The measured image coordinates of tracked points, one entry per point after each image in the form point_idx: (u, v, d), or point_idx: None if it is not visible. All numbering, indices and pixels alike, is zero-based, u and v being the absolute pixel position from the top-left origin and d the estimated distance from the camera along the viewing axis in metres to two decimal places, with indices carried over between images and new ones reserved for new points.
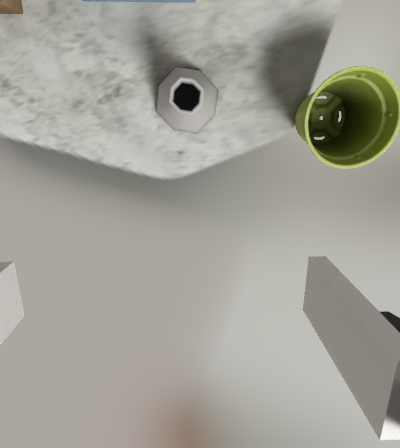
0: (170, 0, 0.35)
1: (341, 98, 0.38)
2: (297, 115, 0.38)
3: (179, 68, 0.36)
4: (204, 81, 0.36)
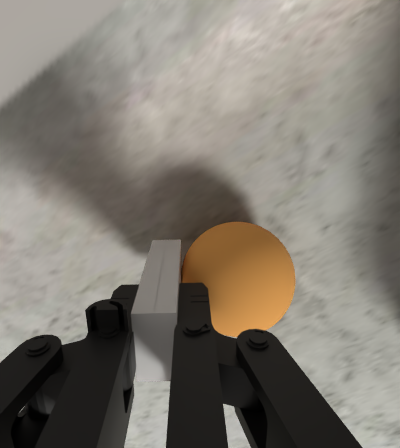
0: None
1: None
2: None
3: None
4: None
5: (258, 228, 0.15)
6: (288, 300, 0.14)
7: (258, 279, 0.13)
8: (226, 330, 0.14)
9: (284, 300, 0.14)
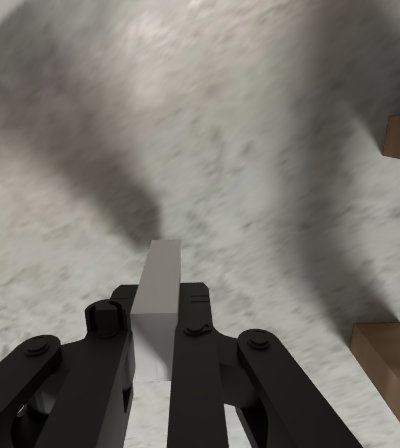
0: None
1: None
2: None
3: None
4: None
5: None
6: None
7: None
8: None
9: None
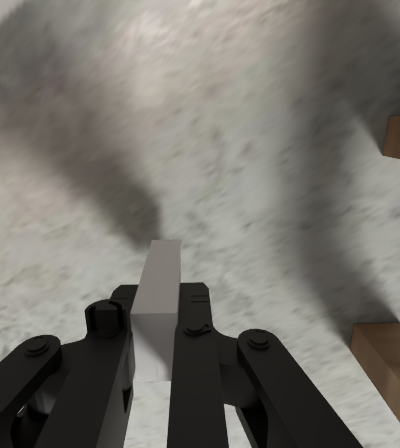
0: None
1: None
2: None
3: None
4: None
5: None
6: None
7: None
8: None
9: None
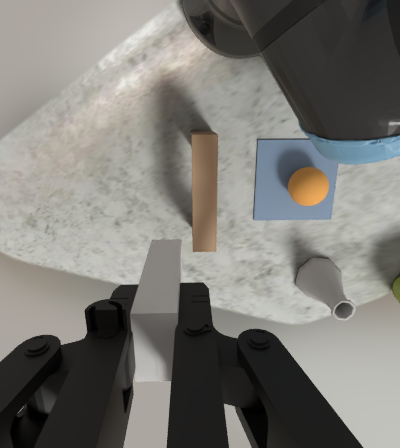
0: (314, 219, 0.51)
1: None
2: (396, 287, 0.54)
3: (316, 260, 0.52)
4: (336, 272, 0.51)
5: (307, 169, 0.45)
6: (291, 189, 0.46)
7: None
8: None
9: (290, 187, 0.46)
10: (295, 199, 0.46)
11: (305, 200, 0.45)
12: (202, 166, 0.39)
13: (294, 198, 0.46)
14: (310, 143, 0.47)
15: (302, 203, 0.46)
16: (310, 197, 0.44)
